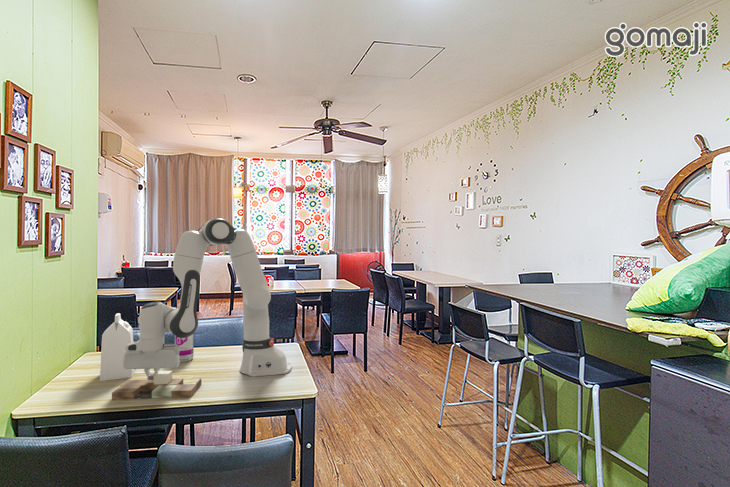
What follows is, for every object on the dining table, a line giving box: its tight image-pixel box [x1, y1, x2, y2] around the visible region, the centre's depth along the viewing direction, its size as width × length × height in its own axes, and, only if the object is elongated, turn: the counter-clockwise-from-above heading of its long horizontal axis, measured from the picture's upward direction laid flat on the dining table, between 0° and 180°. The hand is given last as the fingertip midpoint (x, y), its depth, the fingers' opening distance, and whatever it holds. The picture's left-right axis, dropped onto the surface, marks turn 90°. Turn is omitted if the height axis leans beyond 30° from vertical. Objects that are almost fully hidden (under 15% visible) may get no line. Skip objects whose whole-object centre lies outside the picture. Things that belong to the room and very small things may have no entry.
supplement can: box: [174, 333, 194, 363], centre depth 202 cm, size 8×8×15 cm
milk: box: [99, 312, 135, 382], centre depth 180 cm, size 12×12×26 cm
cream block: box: [154, 370, 173, 384], centre depth 164 cm, size 5×5×4 cm
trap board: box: [111, 377, 202, 400], centre depth 161 cm, size 28×13×3 cm, turn 95°
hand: (152, 379), depth 164 cm, fingers closed
